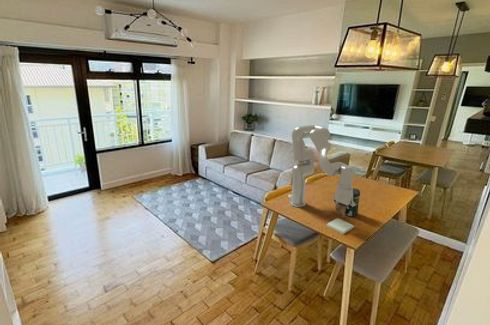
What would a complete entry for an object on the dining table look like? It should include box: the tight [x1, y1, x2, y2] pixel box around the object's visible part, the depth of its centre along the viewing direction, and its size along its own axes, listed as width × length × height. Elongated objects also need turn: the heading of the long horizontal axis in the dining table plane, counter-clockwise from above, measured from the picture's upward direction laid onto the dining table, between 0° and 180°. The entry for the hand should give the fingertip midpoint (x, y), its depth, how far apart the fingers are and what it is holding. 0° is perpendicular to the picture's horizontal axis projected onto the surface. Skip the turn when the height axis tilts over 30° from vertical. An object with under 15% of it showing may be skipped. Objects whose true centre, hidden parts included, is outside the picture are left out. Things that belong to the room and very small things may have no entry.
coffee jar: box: [346, 187, 361, 217], centre depth 178 cm, size 10×8×19 cm
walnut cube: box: [334, 202, 347, 217], centre depth 161 cm, size 6×6×6 cm
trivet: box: [326, 217, 355, 235], centre depth 165 cm, size 12×12×2 cm
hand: (342, 211), depth 161 cm, fingers closed on walnut cube, 6 cm apart
